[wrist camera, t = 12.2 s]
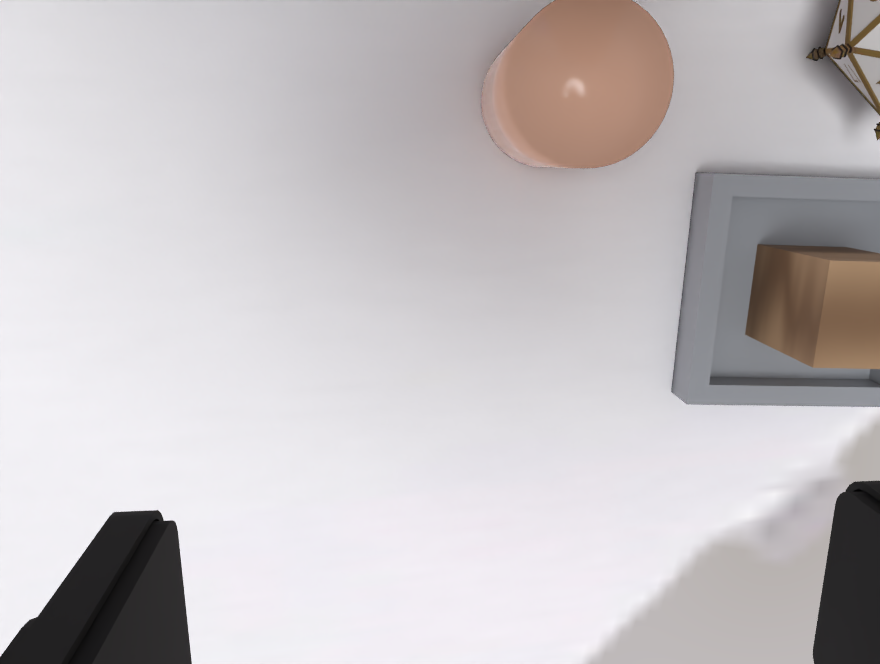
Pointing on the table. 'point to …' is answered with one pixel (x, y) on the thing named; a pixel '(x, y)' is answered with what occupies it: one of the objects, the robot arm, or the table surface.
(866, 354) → the walnut block
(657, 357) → the table surface
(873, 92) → the game die
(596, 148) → the peach round domed cylinder
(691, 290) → the tray
